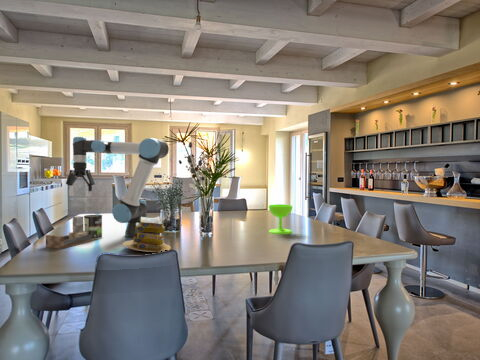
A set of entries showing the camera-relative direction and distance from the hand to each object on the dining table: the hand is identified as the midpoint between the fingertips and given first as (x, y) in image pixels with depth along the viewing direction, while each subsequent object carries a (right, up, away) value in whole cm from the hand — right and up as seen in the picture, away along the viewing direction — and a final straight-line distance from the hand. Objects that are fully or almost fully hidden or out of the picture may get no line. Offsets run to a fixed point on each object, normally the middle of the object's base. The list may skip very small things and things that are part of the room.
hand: (80, 196), depth 213 cm
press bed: (+3, -26, -18) cm, 32 cm away
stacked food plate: (+50, -27, -30) cm, 64 cm away
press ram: (+5, -24, -13) cm, 28 cm away
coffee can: (+9, -26, -2) cm, 28 cm away
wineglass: (+127, -26, +19) cm, 131 cm away
